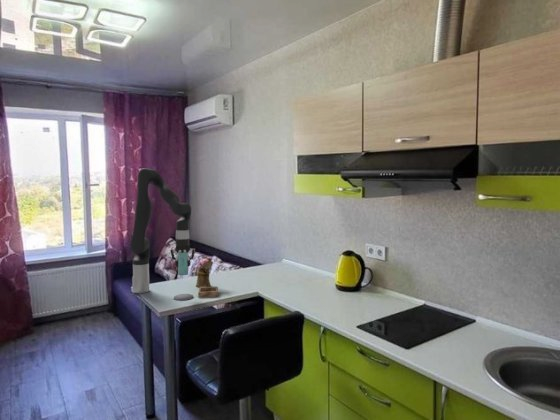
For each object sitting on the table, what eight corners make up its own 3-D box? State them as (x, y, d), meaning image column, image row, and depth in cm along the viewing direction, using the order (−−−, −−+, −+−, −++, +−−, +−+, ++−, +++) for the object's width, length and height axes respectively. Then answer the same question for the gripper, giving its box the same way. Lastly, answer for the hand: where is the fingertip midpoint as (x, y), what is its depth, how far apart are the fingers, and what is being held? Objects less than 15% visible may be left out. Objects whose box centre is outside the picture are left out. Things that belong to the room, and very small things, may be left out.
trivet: (172, 300, 220) (172, 299, 220) (175, 295, 231) (175, 294, 231) (192, 300, 221) (192, 299, 221) (194, 294, 232) (194, 293, 232)
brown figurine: (204, 290, 241) (204, 261, 240) (193, 285, 251) (193, 258, 250) (216, 287, 247) (216, 259, 246) (205, 283, 257) (205, 256, 256)
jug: (178, 273, 227) (178, 251, 226) (188, 272, 228) (188, 251, 227) (177, 276, 219) (176, 254, 218) (187, 276, 220) (186, 253, 219)
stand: (198, 297, 227) (198, 292, 226) (199, 291, 238) (199, 287, 237) (217, 296, 228) (217, 291, 228) (217, 291, 239) (217, 286, 239)
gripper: (195, 236, 228) (196, 264, 229) (170, 236, 226) (171, 265, 227) (194, 238, 221) (195, 267, 222) (168, 238, 219) (169, 268, 220)
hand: (183, 266), depth 225 cm, fingers closed on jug, 5 cm apart
